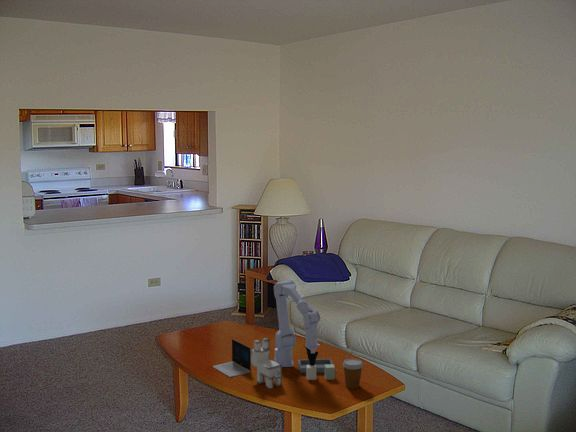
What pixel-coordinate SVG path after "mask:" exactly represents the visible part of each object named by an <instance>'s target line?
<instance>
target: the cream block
mask: <svg viewBox="0 0 576 432" xmlns="http://www.w3.org/2000/svg"><path fill="white" fill-rule="evenodd" d="M306 380H307V381H316V380H317V373H316V365H314V366H310V365H306Z"/></svg>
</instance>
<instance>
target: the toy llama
mask: <svg viewBox="0 0 576 432" xmlns="http://www.w3.org/2000/svg"><path fill="white" fill-rule="evenodd" d="M270 353H271V352H270V339H269V338H268V337H264V338H262V341H261V340H259V339H257V340H253V348H251V366H253V367H255V368H256V382H257V383H258V384H259V385H261V384H264V383H265V388H267V389H270V390H271V389H273V388H274V386H276V387H279V386H282V385H283V379H282V378H283V367H282V365H281V364H279V363H277V362H275V361H274V360H273V359H270V357H271V355H270Z"/></svg>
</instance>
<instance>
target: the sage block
mask: <svg viewBox="0 0 576 432" xmlns="http://www.w3.org/2000/svg"><path fill="white" fill-rule="evenodd" d="M323 374H324V375H323V376H324V379H325V380H335V379H336V367H335V364H325V373H323Z"/></svg>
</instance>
